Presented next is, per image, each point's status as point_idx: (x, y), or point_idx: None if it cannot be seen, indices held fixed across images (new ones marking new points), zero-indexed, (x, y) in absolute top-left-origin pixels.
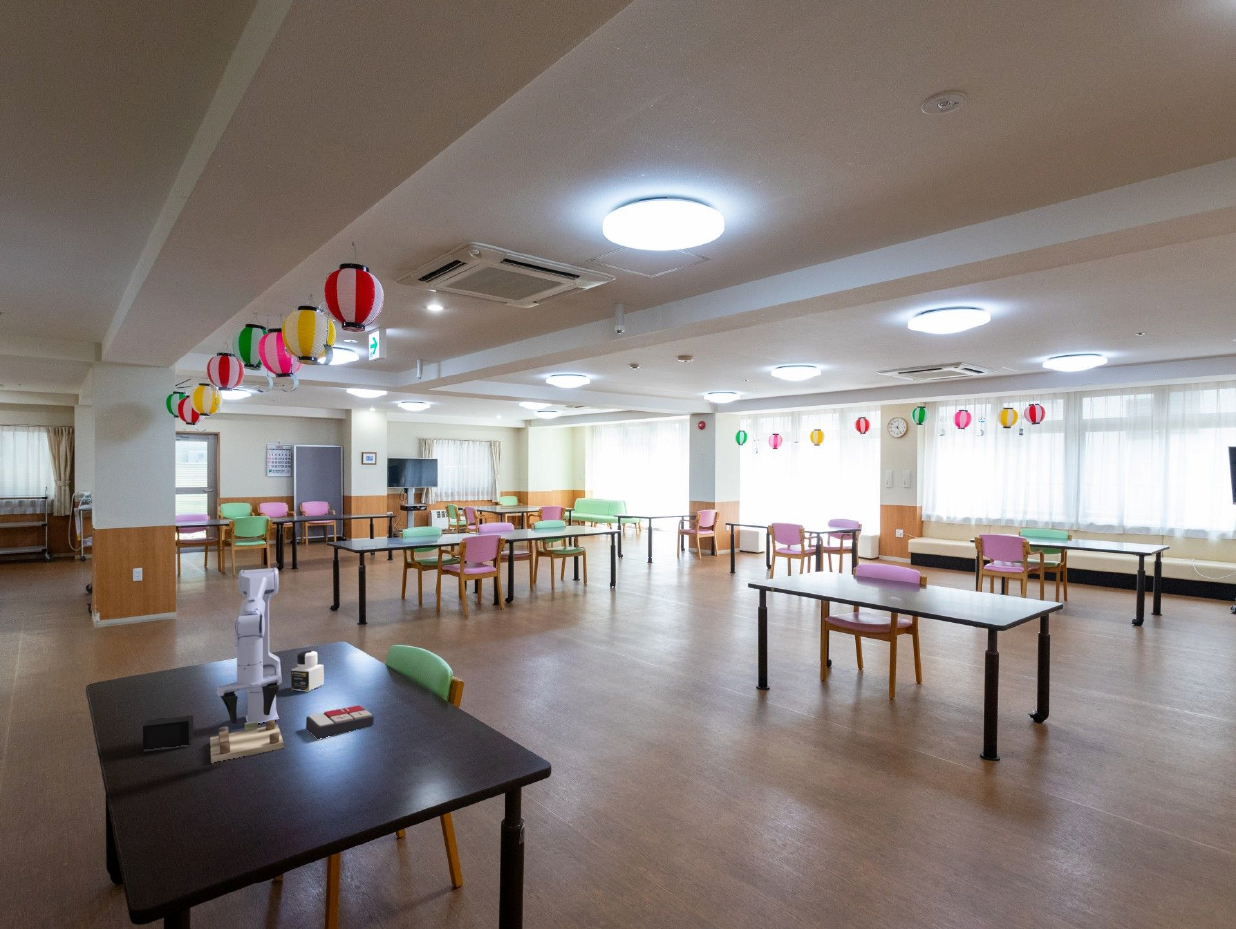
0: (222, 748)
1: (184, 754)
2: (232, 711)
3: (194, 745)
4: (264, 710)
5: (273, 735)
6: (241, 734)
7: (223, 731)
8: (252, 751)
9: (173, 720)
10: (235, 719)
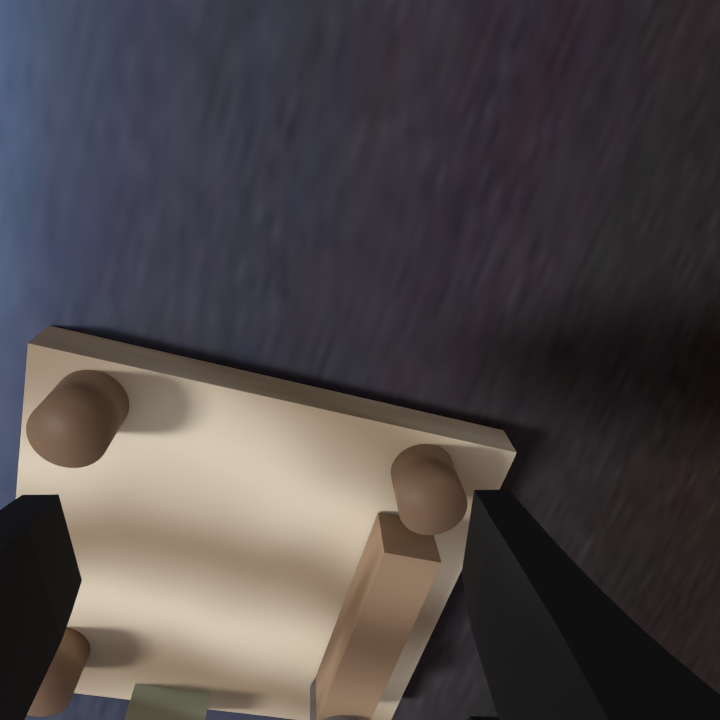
0: (456, 476)
1: None
2: (623, 621)
3: (446, 716)
4: (52, 609)
5: (78, 417)
6: (239, 670)
7: (348, 713)
8: (265, 387)
9: None
10: (509, 516)
